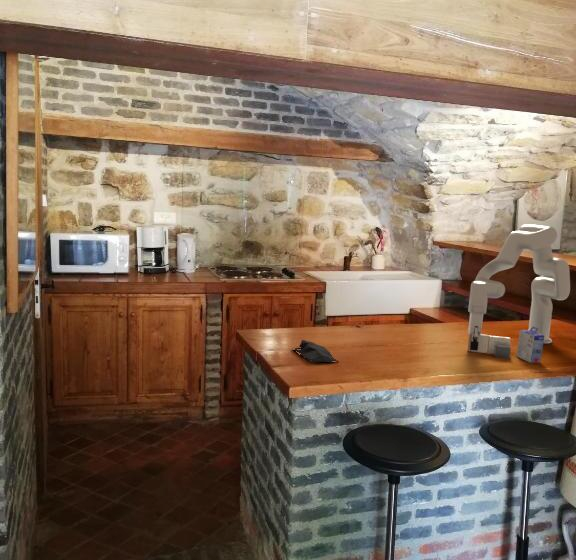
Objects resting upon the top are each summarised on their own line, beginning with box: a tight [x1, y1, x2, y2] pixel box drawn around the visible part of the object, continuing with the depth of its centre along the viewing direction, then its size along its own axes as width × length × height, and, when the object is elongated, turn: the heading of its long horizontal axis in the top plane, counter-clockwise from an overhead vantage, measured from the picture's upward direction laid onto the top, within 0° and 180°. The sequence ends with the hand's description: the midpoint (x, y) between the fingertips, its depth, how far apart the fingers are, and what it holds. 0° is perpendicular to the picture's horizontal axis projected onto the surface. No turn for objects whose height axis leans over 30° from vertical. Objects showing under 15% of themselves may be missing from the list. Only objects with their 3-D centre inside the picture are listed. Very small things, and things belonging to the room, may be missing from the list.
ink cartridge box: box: [515, 327, 544, 364], centre depth 245 cm, size 10×6×14 cm, turn 15°
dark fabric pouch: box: [294, 339, 339, 363], centre depth 239 cm, size 15×22×5 cm
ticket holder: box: [486, 335, 512, 360], centre depth 252 cm, size 10×9×8 cm
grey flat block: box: [467, 333, 489, 354], centre depth 254 cm, size 2×8×8 cm, turn 75°
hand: (473, 347), depth 255 cm, fingers open, 5 cm apart
